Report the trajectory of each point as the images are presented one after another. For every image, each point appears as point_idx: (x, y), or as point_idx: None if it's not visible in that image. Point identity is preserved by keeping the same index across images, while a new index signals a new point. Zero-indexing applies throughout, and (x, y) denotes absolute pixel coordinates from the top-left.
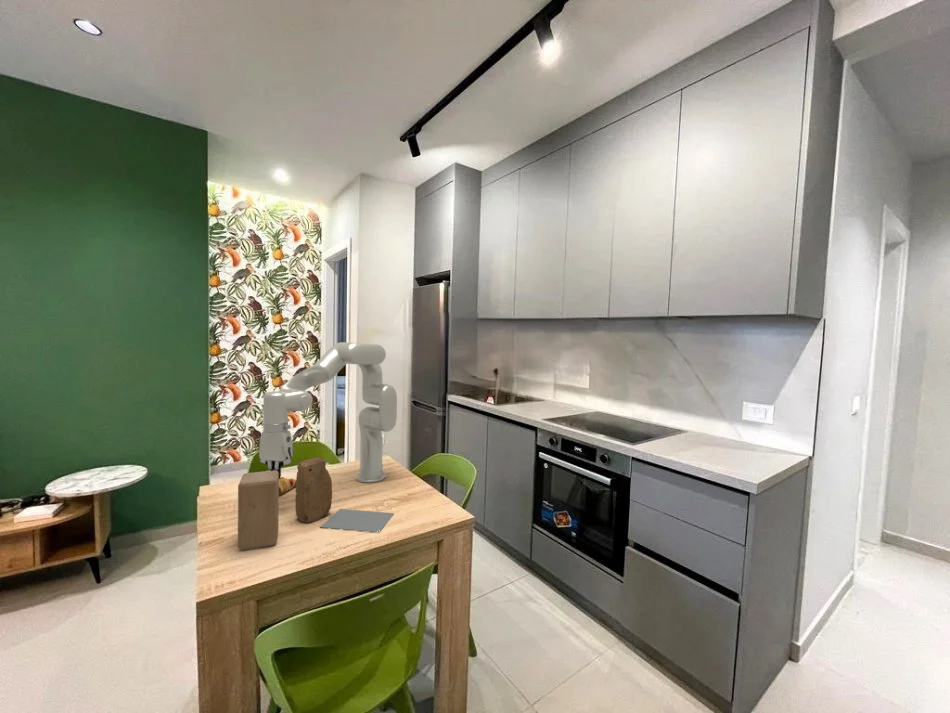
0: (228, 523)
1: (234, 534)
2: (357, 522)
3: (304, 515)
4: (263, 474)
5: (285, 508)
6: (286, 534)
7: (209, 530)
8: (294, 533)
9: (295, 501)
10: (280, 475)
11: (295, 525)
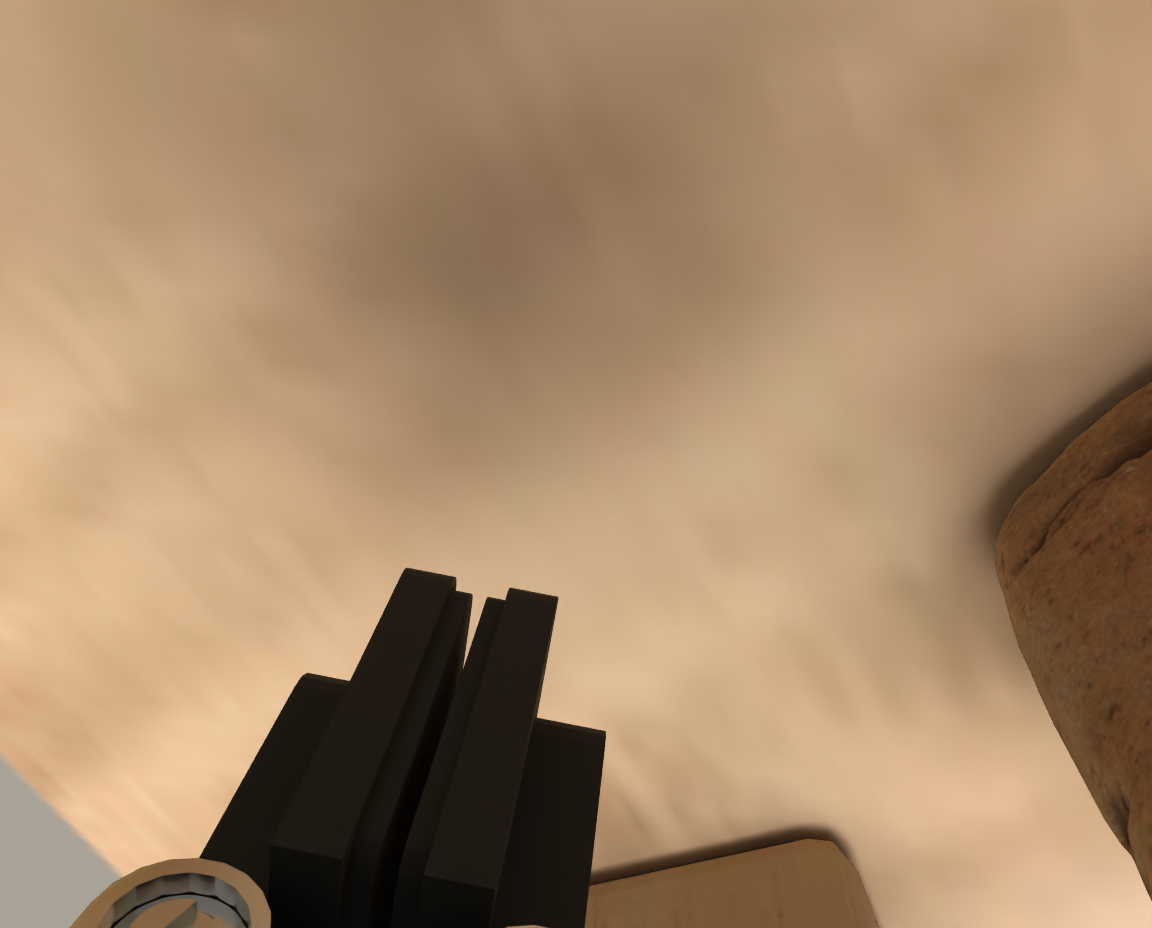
0: (122, 617)
1: None
2: None
3: None
4: None
5: (659, 135)
6: (965, 885)
7: (47, 760)
8: (1056, 873)
9: (1057, 730)
10: (600, 762)
11: (1016, 700)
